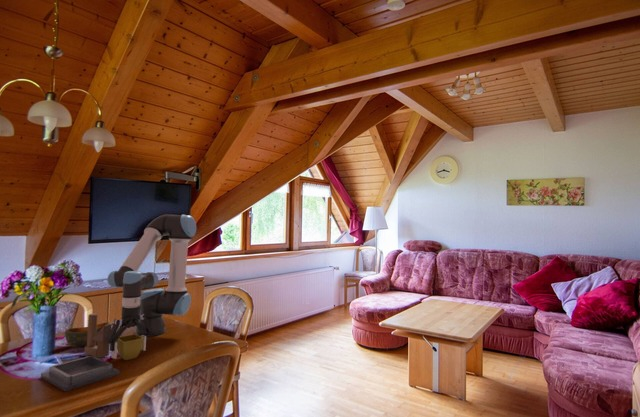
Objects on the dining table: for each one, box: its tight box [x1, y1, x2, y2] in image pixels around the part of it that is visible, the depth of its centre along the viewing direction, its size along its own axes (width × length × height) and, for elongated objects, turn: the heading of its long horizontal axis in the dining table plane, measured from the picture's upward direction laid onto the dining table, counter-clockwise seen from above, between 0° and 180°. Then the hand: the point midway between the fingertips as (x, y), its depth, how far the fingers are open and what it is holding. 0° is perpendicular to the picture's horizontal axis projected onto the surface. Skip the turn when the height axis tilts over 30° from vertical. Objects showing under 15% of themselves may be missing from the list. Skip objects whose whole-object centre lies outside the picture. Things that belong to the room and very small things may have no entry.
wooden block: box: [84, 313, 111, 359], centre depth 176 cm, size 4×11×18 cm, turn 72°
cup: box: [64, 321, 114, 349], centre depth 189 cm, size 13×20×10 cm, turn 85°
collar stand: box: [40, 355, 121, 393], centre depth 153 cm, size 20×20×4 cm
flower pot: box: [115, 333, 143, 361], centre depth 174 cm, size 9×9×9 cm
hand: (128, 353), depth 174 cm, fingers open, 13 cm apart
